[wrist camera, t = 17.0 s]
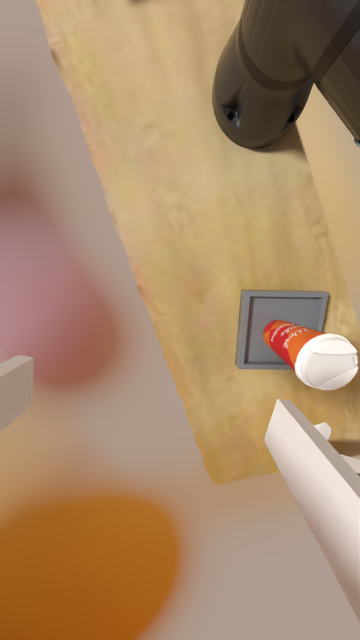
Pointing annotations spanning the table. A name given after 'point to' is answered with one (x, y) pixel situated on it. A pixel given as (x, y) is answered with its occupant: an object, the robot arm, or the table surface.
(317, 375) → the coffee cup
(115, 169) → the table surface
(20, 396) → the robot arm
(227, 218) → the table surface
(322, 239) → the table surface
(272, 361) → the tray
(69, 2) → the table surface
